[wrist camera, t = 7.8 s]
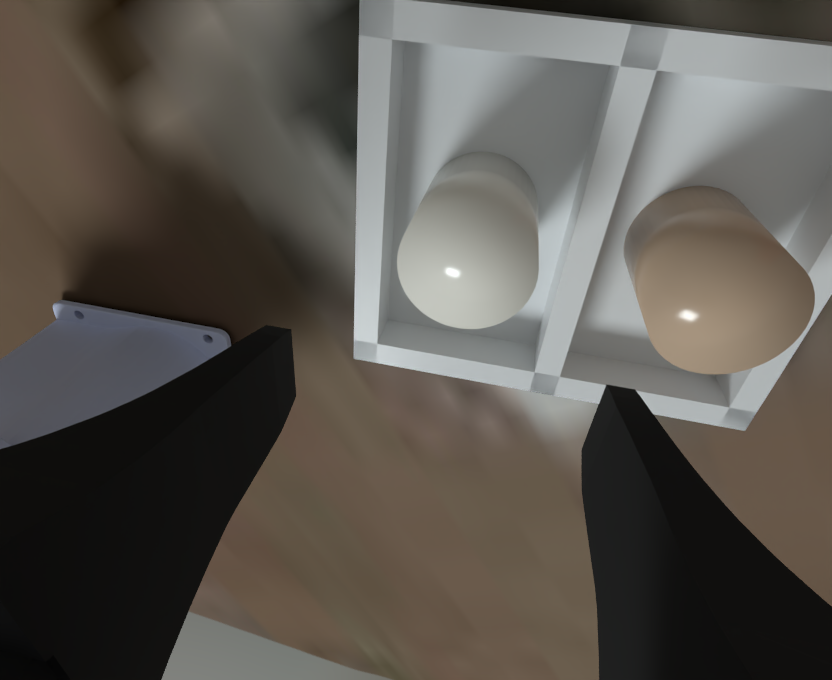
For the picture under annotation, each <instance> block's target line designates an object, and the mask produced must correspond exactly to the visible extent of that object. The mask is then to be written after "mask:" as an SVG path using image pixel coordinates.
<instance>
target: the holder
mask: <svg viewBox="0 0 832 680" xmlns="http://www.w3.org/2000/svg"><path fill="white" fill-rule="evenodd" d="M472 152H492V153H497V154H500V155H503V156H505V157H507V158H510V159H511V160H513V161H514V162H516V163H517V164H518V165H519V166H521V167H522V168H523V169H524V170H525V172H526V173H527V174H528V175H529V177H530V178H531V180H532V182H533V184H534V186H535V189H536V192H537V197H538V234H539V273H538V280H537V283H536V287H535V289H534V291H533V294H532V295H531V297H530V299H529V300H528V302H527V303H526V304H525V305H524V307H523V308H522V309H521V310H520V311H519V312H517V313H516V314H515V315H514V316H512V317H511V318H509V319H507V320H506V321H504V322H502V323H499V324H497V325H494V326H490V327H486V328H480V329H461V328H455V327H450V326H447V325H444V324H441V323H439V322H437V321H435V320H433V319H431V318H430V317H428V316H426V315H425V314H424V313H422V312H421V311H420V310H419V309H418V308H417V307H416V306H415V305H414V304H413V303H412V302H411V301H410V299H409V298H408V296H407V295H406V293H405V291H404V289H403V287H402V285H401V282H400V279H399V275H398V270H397V255H398V250H399V246H400V243H401V240H402V238H403V236H404V234H405V232H406V230H407V228H408V226H409V224H410V222H411V220H412V218H413V216H414V214H415V212H416V211H417V209H418V207H419V205H420V203H421V201H422V199H423V197H424V195H425V193H426V191H427V189H428V187H429V185H430V183H431V182H432V180H433V178H434V176H435V175H436V174H437V173H438V171H439V170H440V169H441V168H442V167H443V166H444V165H445V164H447V163H448V162H449V161H451V160H453V159H455V158H456V157H459V156H461V155H464V154H467V153H472ZM690 186H710V187H715V188H719V189H722V190H725V191H727V192H729V193H731V194H733V195H734V196H735V197H737V198H738V199H739V200H740V201H741V202H742V203H743V204H744V205H745V206H746V208H747V209H748V210H749V211H750V212H751V213H752V214H753V215H754V216H755V217H756V218H757V219H758V220H759V221H760V223H761V224H762V225H763V226H764V227H765V228H766V229H767V230H768V231H769V232H770V233H771V234H772V235H773V236H774V238H775V239H776V240H777V241H778V242H779V243H780V244H781V245H782V246H783V247H784V248H785V249H786V250H787V251H788V252H789V254H790V255H791V256H792V257H793V258H794V259H795V260H796V261H797V262H798V263H799V264H800V265H801V266H802V267H803V269H804V270H805V271H806V272H807V274H808V275H809V277H810V279H811V281H812V284H813V287H814V292H815V304H814V310H813V313H812V316H811V319H810V321H809V323H808V325H807V327H806V329H805V330H804V331H803V333H802V334H801V336H800V337H799V338H798V339H797V340H796V341H795V342H794V343H793V344H792V345H791V346H790V347H789V348H788V349H786V350H785V351H784V352H782V353H781V354H780V355H778V356H777V357H775V358H773V359H771V360H770V361H768V362H766V363H764V364H761V365H759V366H757V367H754V368H751V369H748V370H744V371H740V372H735V373H729V374H701V373H695V372H691V371H687V370H684V369H681V368H679V367H677V366H675V365H673V364H671V363H670V362H668V361H667V360H665V359H664V358H663V357H662V356H661V355H660V354H659V353H658V352H657V350H656V349H655V348H654V346H653V344H652V343H651V340H650V338H649V335H648V332H647V329H646V325H645V322H644V319H643V316H642V313H641V310H640V307H639V304H638V301H637V297H636V294H635V291H634V288H633V285H632V282H631V279H630V276H629V272H628V269H627V266H626V263H625V259H624V241H625V237H626V234H627V232H628V229H629V227H630V225H631V224H632V222H633V220H634V219H635V218H636V216H637V215H638V214H639V213H640V212H641V211H642V210H643V209H644V208H645V207H646V206H647V205H648V204H649V203H651V202H652V201H654V200H655V199H657V198H658V197H660V196H662V195H664V194H666V193H668V192H671V191H673V190H676V189H680V188H684V187H690ZM831 295H832V42H829V41H820V40H810V39H801V38H792V37H783V36H773V35H764V34H755V33H746V32H736V31H727V30H718V29H709V28H699V27H690V26H681V25H672V24H662V23H653V22H644V21H635V20H625V19H616V18H607V17H598V16H588V15H579V14H570V13H561V12H551V11H542V10H533V9H524V8H514V7H505V6H496V5H487V4H477V3H468V2H459V1H450V0H360V7H359V67H358V126H357V186H356V246H355V305H354V359H358V360H364V361H369V362H375V363H380V364H385V365H391V366H396V367H402V368H407V369H412V370H418V371H423V372H429V373H434V374H440V375H445V376H450V377H456V378H461V379H467V380H472V381H477V382H483V383H488V384H494V385H499V386H505V387H510V388H515V389H521V390H526V391H532V392H537V393H542V394H548V395H553V396H559V397H564V398H569V399H575V400H580V401H586V402H591V403H597V404H599V403H600V400H601V397H602V395H603V392H604V389H605V387H606V384H607V385H613V386H618V387H624V388H630V389H635V390H636V391H637V393H638V394H639V395H640V397H641V398H642V399H643V401H644V402H645V404H646V405H647V406H648V408H649V409H650V411H651V412H652V413H653V414H656V415H662V416H667V417H672V418H678V419H683V420H689V421H694V422H699V423H705V424H710V425H716V426H721V427H726V428H732V429H737V430H743V431H745V430H746V428H747V427H748V425H749V424H750V422H751V420H752V419H753V417H754V416H755V414H756V413H757V411H758V409H759V408H760V406H761V405H762V403H763V402H764V400H765V398H766V397H767V395H768V394H769V392H770V391H771V389H772V387H773V386H774V384H775V383H776V381H777V380H778V378H779V376H780V375H781V373H782V372H783V370H784V369H785V367H786V365H787V364H788V362H789V361H790V359H791V358H792V356H793V354H794V353H795V351H796V350H797V348H798V347H799V345H800V343H801V342H802V340H803V339H804V337H805V335H806V334H807V332H808V331H809V329H810V328H811V326H812V324H813V323H814V321H815V320H816V318H817V317H818V315H819V313H820V312H821V310H822V309H823V307H824V306H825V304H826V302H827V301H828V299H829V298H830V296H831Z"/></svg>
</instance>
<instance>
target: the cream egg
mask: <svg viewBox="0 0 832 680" xmlns="http://www.w3.org/2000/svg"><path fill="white" fill-rule="evenodd" d="M397 270H398V275H399V279H400V282H401V285H402V287H403V289H404V291H405V293H406V295H407V296H408V298H409V299H410V301H411V302H412V303H413V304H414V305H415V306H416V307H417V308H418V309H419V310H420V311H421V312H422V313H424V314H425V315H426V316H428V317H430V318H431V319H433V320H435V321H437V322H439V323H441V324H444V325H447V326H450V327H455V328H461V329H480V328H486V327H490V326H494V325H497V324H499V323H502V322H504V321H506V320H507V319H509V318H511V317H512V316H514V315H515V314H516V313H517V312H519V311H520V310H521V309H522V308H523V307H524V305H525V304H526V303H527V302H528V300H529V299H530V297H531V295H532V294H533V291H534V289H535V287H536V283H537V280H538V273H539V234H538V197H537V192H536V189H535V186H534V184H533V182H532V180H531V178H530V177H529V175H528V174H527V173H526V172H525V170H524V169H523V168H522V167H521V166H519V165H518V164H517V163H516V162H514V161H513V160H511V159H510V158H507V157H505V156H503V155H500V154H497V153H492V152H472V153H467V154H464V155H461V156H459V157H456V158H455V159H453V160H451V161H449V162H448V163H447V164H445V165H444V166H443V167H442V168H441V169H440V170H439V171H438V173H437V174H436V175H435V176H434V178H433V180H432V182H431V183H430V185H429V187H428V189H427V191H426V193H425V195H424V197H423V199H422V201H421V203H420V205H419V207H418V209H417V211H416V212H415V214H414V216H413V218H412V220H411V222H410V224H409V226H408V228H407V230H406V232H405V234H404V236H403V238H402V240H401V243H400V246H399V250H398V255H397Z"/></svg>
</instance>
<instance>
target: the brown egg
mask: <svg viewBox="0 0 832 680" xmlns="http://www.w3.org/2000/svg"><path fill="white" fill-rule="evenodd" d="M624 259H625V263H626V266H627V269H628V272H629V276H630V279H631V282H632V285H633V288H634V291H635V294H636V297H637V301H638V304H639V307H640V310H641V313H642V316H643V319H644V322H645V325H646V329H647V332H648V335H649V338H650V340H651V343H652V344H653V346H654V348H655V349H656V350H657V352H658V353H659V354H660V355H661V356H662V357H663V358H664V359H665V360H667V361H668V362H670V363H671V364H673V365H675V366H677V367H679V368H681V369H684V370H687V371H691V372H695V373H701V374H729V373H735V372H740V371H744V370H748V369H751V368H754V367H757V366H759V365H761V364H764V363H766V362H768V361H770V360H771V359H773V358H775V357H777V356H778V355H780V354H781V353H782V352H784V351H785V350H786V349H788V348H789V347H790V346H791V345H792V344H793V343H794V342H795V341H796V340H797V339H798V338H799V337H800V336H801V334H802V333H803V331H804V330H805V329H806V327H807V325H808V323H809V321H810V319H811V316H812V313H813V310H814V304H815V292H814V287H813V284H812V281H811V279H810V277H809V275H808V274H807V272H806V271H805V270H804V269H803V267H802V266H801V265H800V264H799V263H798V262H797V261H796V260H795V259H794V258H793V257H792V256H791V255H790V254H789V252H788V251H787V250H786V249H785V248H784V247H783V246H782V245H781V244H780V243H779V242H778V241H777V240H776V239H775V238H774V236H773V235H772V234H771V233H770V232H769V231H768V230H767V229H766V228H765V227H764V226H763V225H762V224H761V223H760V221H759V220H758V219H757V218H756V217H755V216H754V215H753V214H752V213H751V212H750V211H749V210H748V209H747V208H746V206H745V205H744V204H743V203H742V202H741V201H740V200H739V199H738V198H737V197H735V196H734V195H733V194H731V193H729V192H727V191H725V190H722V189H719V188H715V187H710V186H690V187H684V188H680V189H676V190H673V191H671V192H668V193H666V194H664V195H662V196H660V197H658V198H657V199H655V200H654V201H652V202H651V203H649V204H648V205H647V206H646V207H645V208H644V209H643V210H642V211H641V212H640V213H639V214H638V215H637V216H636V218H635V219H634V220H633V222H632V224H631V225H630V227H629V229H628V232H627V234H626V237H625V241H624Z"/></svg>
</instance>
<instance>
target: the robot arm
mask: <svg viewBox="0 0 832 680" xmlns="http://www.w3.org/2000/svg"><path fill="white" fill-rule="evenodd" d="M53 311H54V314H55V316H56V319H57V320H56V321H54V322H53V323H51V324H50V325H49V326H47V327H46V328H44V329H43V330H42V331H40V332H39V333H37V334H36V335H35V336H33V337H32V338H30V339H29V340H27V341H26V342H25V343H23V344H22V345H20V346H19V347H18V348H16V349H15V350H13V351H12V352H11V353H9V354H8V355H6V356H5V357H3V358H2V359H1V360H0V680H161V679H162V676H163V673H164V671H165V668H166V666H167V663H168V660H169V657H170V655H171V653H172V650H173V648H174V645H175V643H176V640H177V638H178V635H179V633H180V630H181V628H182V626H183V623H184V621H185V618H186V615H187V613H188V611H189V608H190V606H191V604H192V601H193V599H194V597H195V594H196V592H197V590H198V588H199V585H200V583H201V581H202V578H203V576H204V574H205V571H206V569H207V567H208V565H209V562H210V560H211V558H212V556H213V554H214V552H215V549H216V547H217V545H218V543H219V541H220V539H221V536H222V534H223V532H224V530H225V528H226V526H227V524H228V522H229V520H230V518H231V517H232V515H233V513H234V511H235V509H236V508H237V506H238V504H239V502H240V501H241V499H242V497H243V496H244V494H245V492H246V491H247V489H248V487H249V486H250V484H251V482H252V481H253V479H254V477H255V476H256V474H257V472H258V471H259V469H260V467H261V465H262V464H263V462H264V460H265V459H266V457H267V455H268V454H269V452H270V450H271V448H272V447H273V445H274V443H275V442H276V440H277V438H278V436H279V435H280V433H281V431H282V429H283V426H284V424H285V422H286V419H287V417H288V415H289V412H290V410H291V407H292V405H293V402H294V400H295V397H296V387H295V374H294V361H293V348H292V335H291V329H285V328H280V327H274V326H268V325H266V326H264V327H262V328H260V329H259V330H257V331H255V332H253V333H252V334H250V335H248V336H247V337H245V338H244V339H242V340H240V341H239V342H237V343H235V344H234V345H232V346H231V341H230V337H229V335H228V334H227V332H225V331H224V330H222V329H218V328H213V327H207V326H202V325H196V324H191V323H185V322H180V321H175V320H169V319H164V318H158V317H153V316H147V315H142V314H136V313H131V312H126V311H120V310H115V309H109V308H104V307H98V306H93V305H87V304H82V303H77V302H71V301H66V300H59V301H58V302H56V303H55V304H53ZM208 335H209V336H211V337H212V339H211V338H210V337H208ZM582 496H583V504H584V511H585V519H586V526H587V533H588V540H589V547H590V554H591V562H592V569H593V576H594V583H595V591H596V602H597V617H598V645H599V680H832V606H830V605H829V604H828V603H827V602H826V601H824V600H823V599H822V598H821V597H820V596H819V595H817V594H816V593H815V592H814V591H813V590H812V589H811V588H810V587H808V586H807V585H806V584H805V583H804V582H803V581H802V580H801V579H799V578H798V577H797V576H796V575H795V574H794V573H793V572H792V571H790V570H789V569H788V568H787V567H786V566H785V565H784V564H783V563H782V562H781V561H780V560H779V559H777V558H776V557H775V556H774V555H773V554H772V553H771V552H770V551H769V550H768V549H767V548H766V547H765V546H764V545H763V544H762V543H761V542H760V541H759V540H758V539H757V538H756V537H755V536H754V535H753V534H752V533H751V532H750V531H749V530H748V529H747V528H746V527H745V526H744V525H743V524H742V523H741V522H740V521H739V520H738V519H737V518H736V516H735V515H734V514H733V513H732V512H731V511H730V510H729V509H728V508H727V507H726V506H725V504H724V503H723V502H722V501H721V500H720V499H719V498H718V496H717V495H716V494H715V493H714V492H713V491H712V489H711V488H710V487H709V486H708V485H707V484H706V483H705V481H704V480H703V479H702V478H701V477H700V475H699V474H698V473H697V472H696V470H695V469H694V468H693V467H692V465H691V464H690V463H689V462H688V460H687V459H686V458H685V457H684V455H683V454H682V453H681V451H680V450H679V449H678V447H677V446H676V445H675V443H674V442H673V441H672V439H671V438H670V437H669V435H668V434H667V433H666V431H665V430H664V429H663V427H662V426H661V424H660V423H659V422H658V420H657V419H656V418H655V416H654V415H653V413H652V412H651V411H650V409H649V408H648V406H647V405H646V404H645V402H644V401H643V399H642V398H641V397H640V395H639V394H638V393H637V391H636V390H635V389H630V388H624V387H618V386H613V385H607V384H606V387H605V389H604V392H603V395H602V397H601V400H600V403H599V405H598V408H597V411H596V413H595V416H594V419H593V421H592V424H591V426H590V429H589V432H588V434H587V437H586V440H585V442H584V445H583V448H582Z"/></svg>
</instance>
